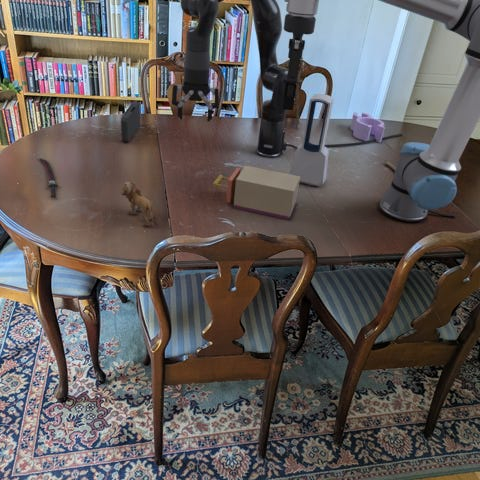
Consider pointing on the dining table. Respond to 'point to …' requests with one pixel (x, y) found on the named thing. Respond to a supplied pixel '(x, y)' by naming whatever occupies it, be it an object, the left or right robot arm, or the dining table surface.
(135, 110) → the handheld gaming console
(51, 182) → the sword
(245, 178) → the cream rectangular box
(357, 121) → the clip
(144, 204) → the lion figurine
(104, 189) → the dining table surface
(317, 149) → the electronic device
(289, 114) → the miniature windmill
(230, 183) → the drawer
